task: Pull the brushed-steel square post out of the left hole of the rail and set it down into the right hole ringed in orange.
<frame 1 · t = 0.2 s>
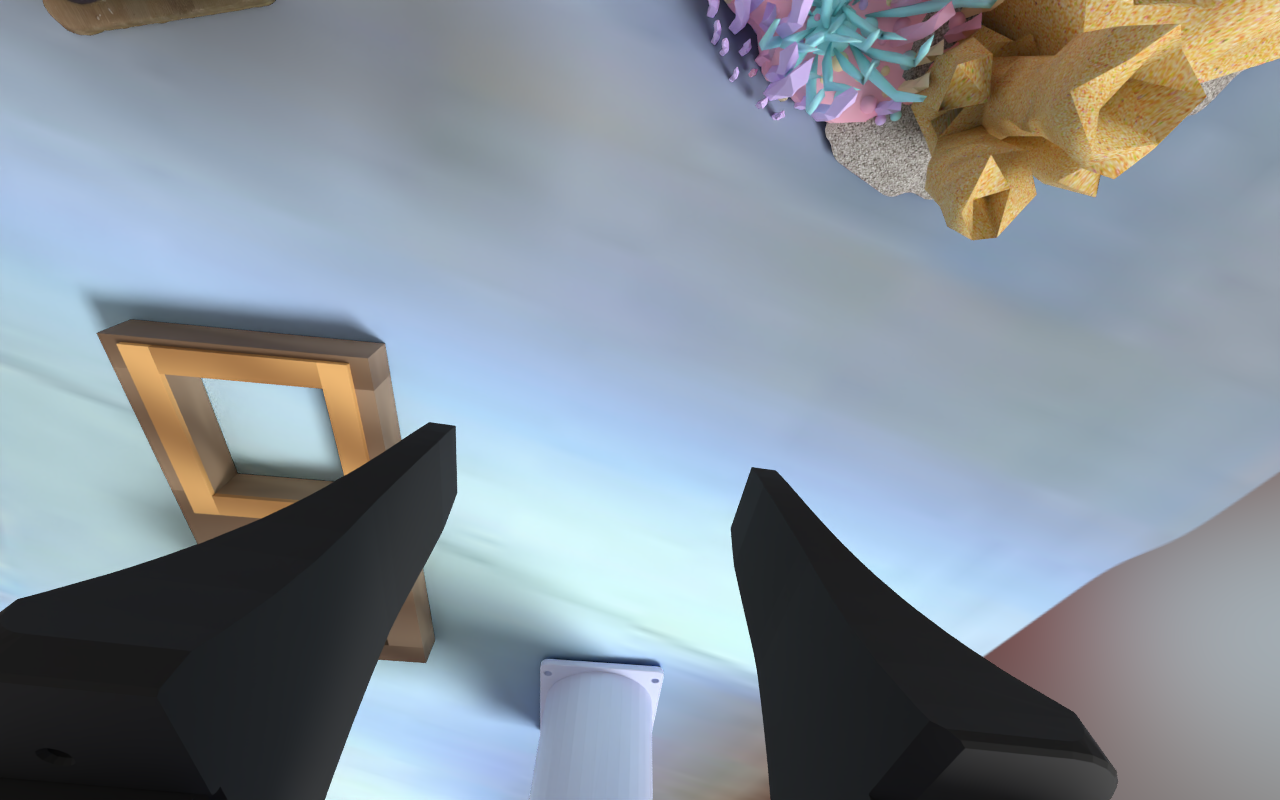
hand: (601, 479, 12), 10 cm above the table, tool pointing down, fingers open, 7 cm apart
rail: (313, 512, 26), on the table
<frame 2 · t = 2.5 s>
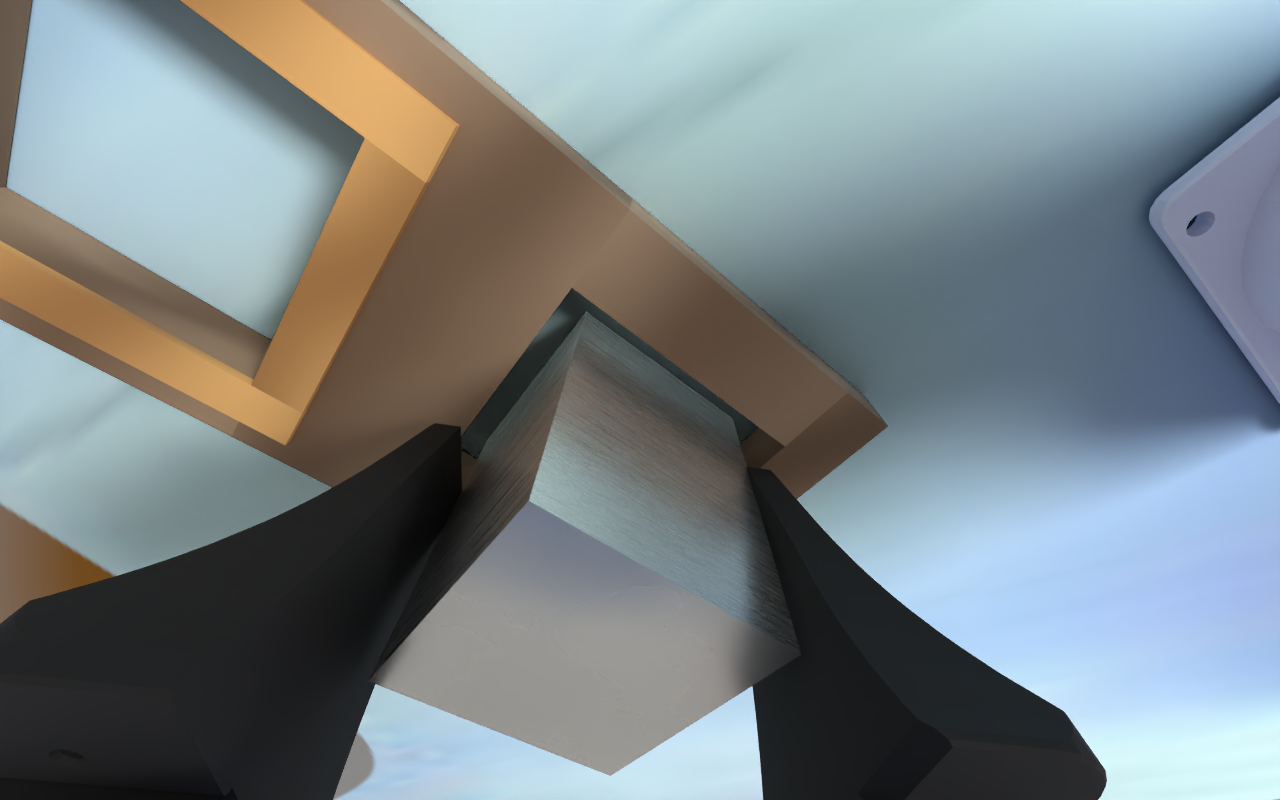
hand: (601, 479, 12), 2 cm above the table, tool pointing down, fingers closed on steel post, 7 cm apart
steel post: (607, 429, 14), resting in rail, touching gripper
rail: (431, 313, 12), on the table
when the fingers open (3 cm above the table, at t = 8.3 s): steel post stays where it is, resting in rail.
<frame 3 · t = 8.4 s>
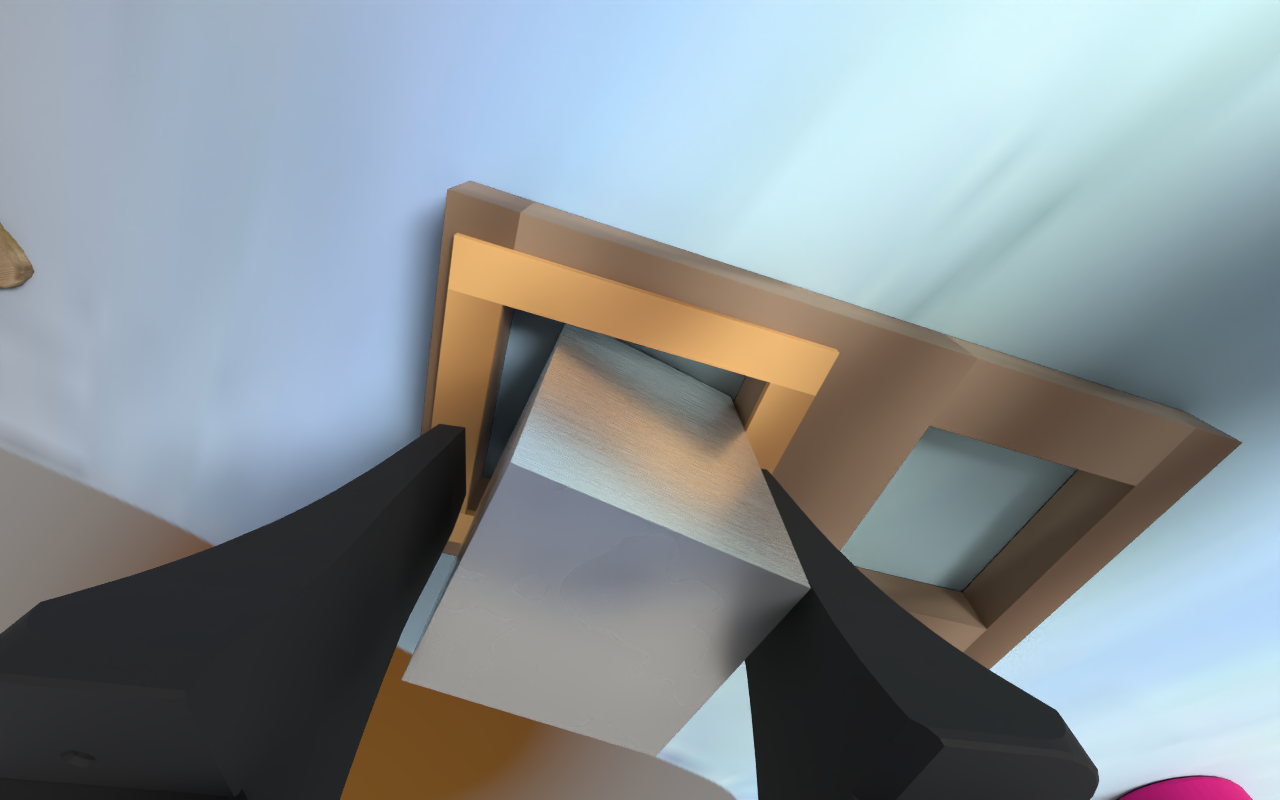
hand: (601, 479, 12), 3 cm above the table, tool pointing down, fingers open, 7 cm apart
pepper mill: (1167, 799, 26), on the table
steel post: (611, 428, 14), resting in rail, touching gripper
rail: (780, 465, 15), on the table
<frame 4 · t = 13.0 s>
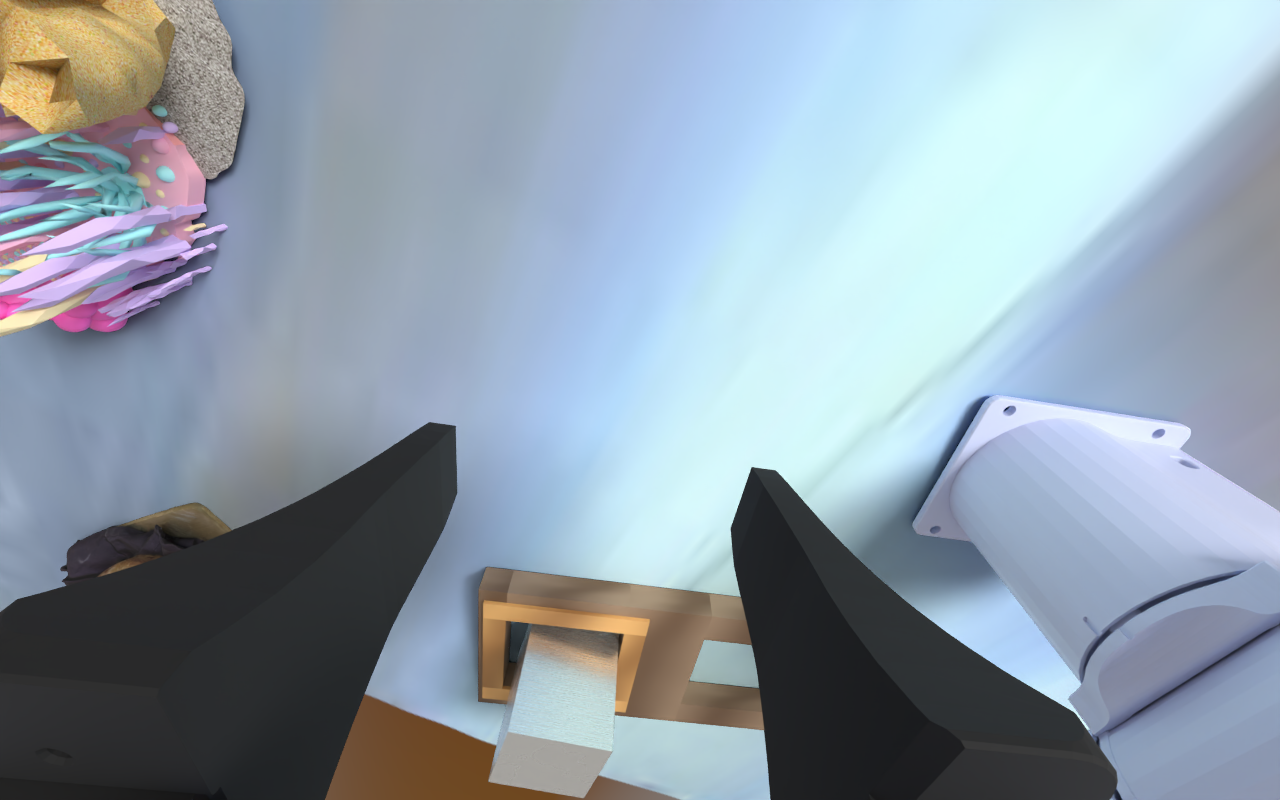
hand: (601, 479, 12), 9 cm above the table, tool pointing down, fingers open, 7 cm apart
steel post: (568, 636, 30), resting in rail
rail: (653, 645, 30), on the table
bread roll: (191, 564, 28), on the table
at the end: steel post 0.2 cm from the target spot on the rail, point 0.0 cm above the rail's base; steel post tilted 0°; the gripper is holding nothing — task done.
